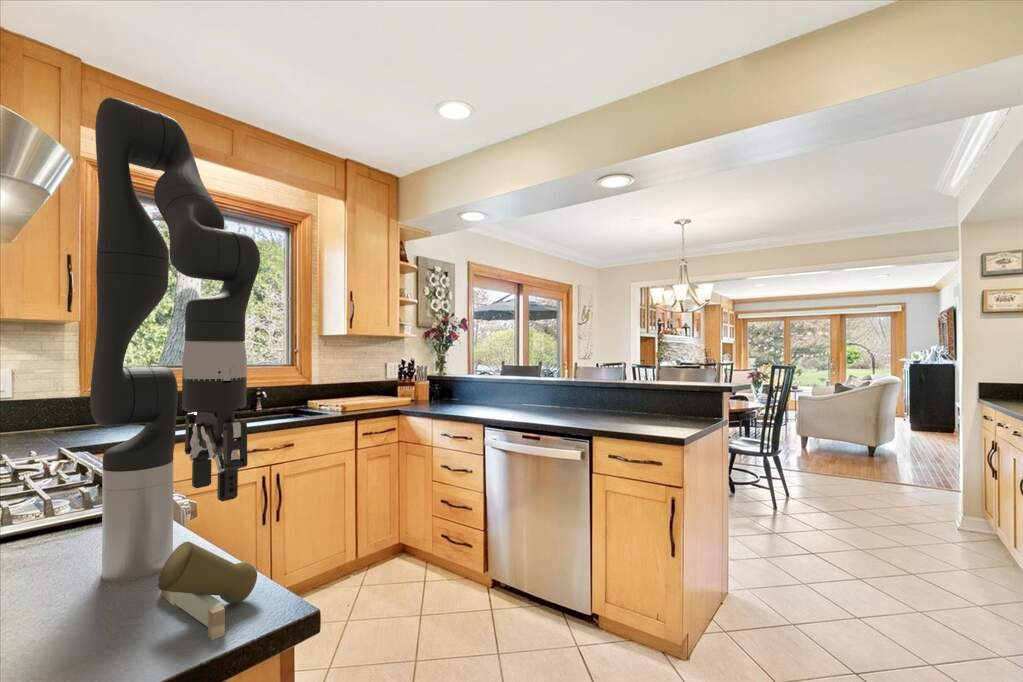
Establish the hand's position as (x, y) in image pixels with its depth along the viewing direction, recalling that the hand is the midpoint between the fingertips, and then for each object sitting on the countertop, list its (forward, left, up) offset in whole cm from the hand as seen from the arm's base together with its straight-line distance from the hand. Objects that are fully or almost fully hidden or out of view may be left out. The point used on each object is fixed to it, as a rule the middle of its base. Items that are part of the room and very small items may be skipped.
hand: (214, 492), depth 66 cm
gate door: (-6, -2, -16) cm, 18 cm away
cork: (0, -4, -8) cm, 9 cm away
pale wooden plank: (-6, -2, -16) cm, 18 cm away
